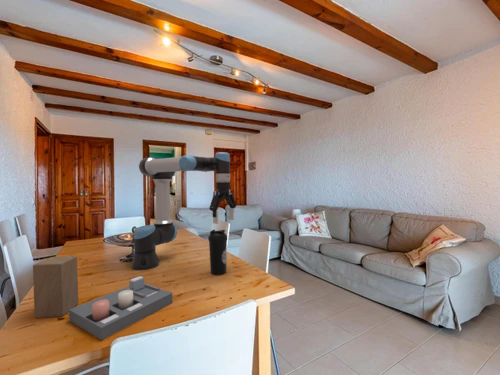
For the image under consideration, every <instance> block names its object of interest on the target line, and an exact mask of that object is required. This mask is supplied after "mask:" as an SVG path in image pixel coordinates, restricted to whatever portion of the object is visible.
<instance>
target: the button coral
mask: <svg viewBox="0 0 500 375" xmlns="http://www.w3.org/2000/svg"><path fill="white" fill-rule="evenodd" d="M92 317H93V321H101V320H103V319H105V318H107V317H109V300H106V299H104V300H99V301H96V302H94V303H93V304H92Z"/></svg>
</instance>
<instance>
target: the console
mask: <svg viewBox="0 0 500 375" xmlns="http://www.w3.org/2000/svg"><path fill="white" fill-rule="evenodd" d="M124 290H130V285H128V286H125V287H123V288H121V289H118V290H116V291H113V292H110V293H108V294H106V295H102V296H101V297H98V298H95V299H92V300H90V301H88V302H85V303H82V304H79V305H76V306H75V307H74V308H72V309H69V312H68V321H69V320H70V321H69V322H71V323H72V322H73V324H74V323H75V326H77V325H78V326H77V327H79V328H81V329H82V328H83V329H82V330H83V331H86V332H87V333H89V334H90V333H91V335H92V334H93V335H92V336H93V337H95V336H96V338H97V337H98V338H97V339H99V340H100V339H101V340H100V341H103V340H105V339H107V338H109V337H111V336H113V335H115V334H117V333H119V332H121V331H122V330H124V329H125V328H128V327H129V326H132V325H133V324H136V323H137V322H139V321H140V320H143V319H144V318H146V317H148V316H150V315H152V314H153V313H155V312H158V311H159V310H162V309H163V308H165V307H166V306H167V307H168V306H169V305H171V304H173V292H171V291H168V290H164V289H161V288H160V287H157V286H154V285H151V284H147V283H145V287H144V288H141V289H139V290H136V291H133V290H132V291H133V306H131V307H129V308H127V309H119V308H118V293H119V292H121V291H124ZM104 299H106V300H109V317H107V318H105V319H103V320H101V321H93V317H92V304H93V303H94V302H96V301H99V300H104ZM116 332H117V333H116ZM114 333H115V334H114ZM112 334H113V335H112ZM110 335H111V336H110ZM108 336H109V337H108ZM102 339H103V340H102Z"/></svg>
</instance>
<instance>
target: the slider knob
mask: <svg viewBox="0 0 500 375" xmlns="http://www.w3.org/2000/svg"><path fill="white" fill-rule="evenodd" d="M145 284H146V283H145V277H143V276H140V275H139V276H137V277H134V278H132V279H129V286H130V290H133V291H136V290H139V289H141V288H144V287H145Z"/></svg>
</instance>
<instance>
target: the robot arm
mask: <svg viewBox="0 0 500 375" xmlns="http://www.w3.org/2000/svg"><path fill="white" fill-rule="evenodd" d="M230 157H231V155H230V153H228V152H226V151H225V152H223V151H220V152H216V153H215V156H214V157H205V156H196V155H191V154H190V155H189V154H188V155H187V154H186V155H182V156H177V157H176V156H175V157H166V158H163V157H162V158H161V157H145V158H143V159H142V160H140V161H139V164H138V169H139V172H140V173H141V174H142V175H144V176H146V177H150V178H152V181H153V182H154V184H155V215H156V218H155V219H156V220H155V221H154V222H153V224H147V225H141V226H138V227H136V228H135V229H134V230H133V245H134V246H133V250H134V251H133V253H134V254H133V258H132V261H131V263H130V264H131V266H130V267H131V269H132V270H135V271H144V270H150V269H154V268H156V267H157V266H159V265H160V260H159V257H158V254H157V252H156V246H159V245H164V244H169V243H171V242H173V241H174V240H175V239H176V237H177V235H178V228H177V227H176V225H175V223H174V221H173V220H172V219H171V183H170V182H171V181H173V177H174V176H175V174H176V172H190V171H191V172H198V171H199V172H204V173H205V172H206V173H207V172H215V182H216V183H215V189H216V190H215V191H213V194H212V199H211V202H210V205H209V210H210V211H211V212H212V224H214V225H215V224H216V225H218V224H219V210H218V209H219V207H220V205H221V203H222V201H223V200H225V201H226V203H227V204H228V206H229V208H228V220H229V221H234V219H235V214H234V213H235V209H236V207H237V204H236V203H237V202H236V200H235V197H234V191H233V190H231V182H230V181H231V158H230Z"/></svg>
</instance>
